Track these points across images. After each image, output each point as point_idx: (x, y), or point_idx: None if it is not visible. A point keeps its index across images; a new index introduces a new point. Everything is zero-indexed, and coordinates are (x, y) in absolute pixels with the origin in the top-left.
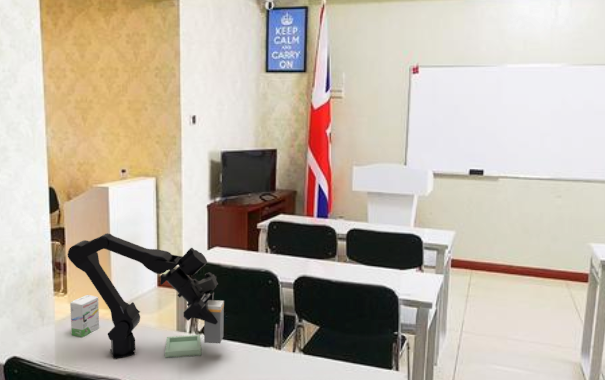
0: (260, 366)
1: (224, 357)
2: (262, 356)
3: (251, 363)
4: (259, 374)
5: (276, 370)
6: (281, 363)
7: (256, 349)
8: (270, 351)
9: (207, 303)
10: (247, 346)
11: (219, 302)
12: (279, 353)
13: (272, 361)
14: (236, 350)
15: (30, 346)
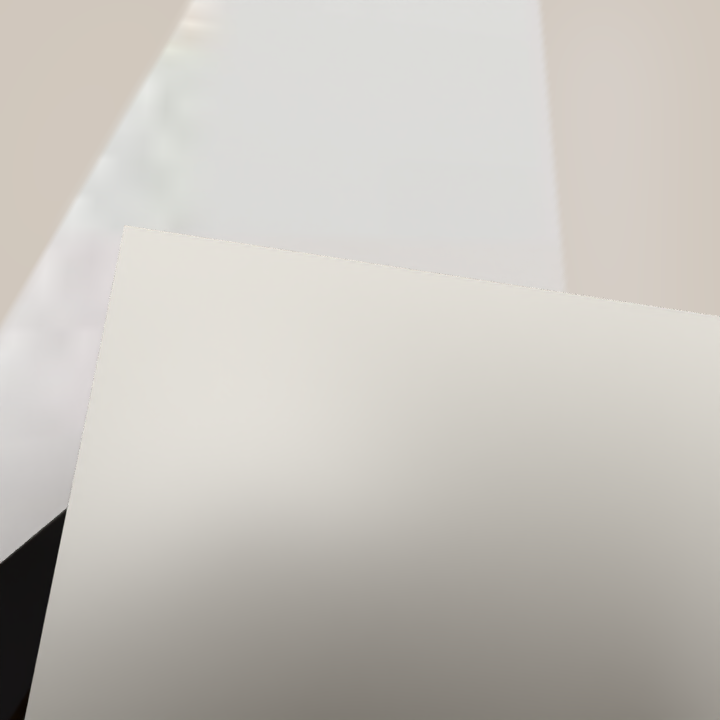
0: (443, 158)
1: None
2: (283, 133)
3: (399, 219)
4: (554, 172)
5: (493, 61)
6: (394, 18)
7: (149, 170)
8: (195, 67)
9: None
10: (79, 244)
11: (343, 411)
12: (234, 9)
13: (365, 71)
14: None
15: None
